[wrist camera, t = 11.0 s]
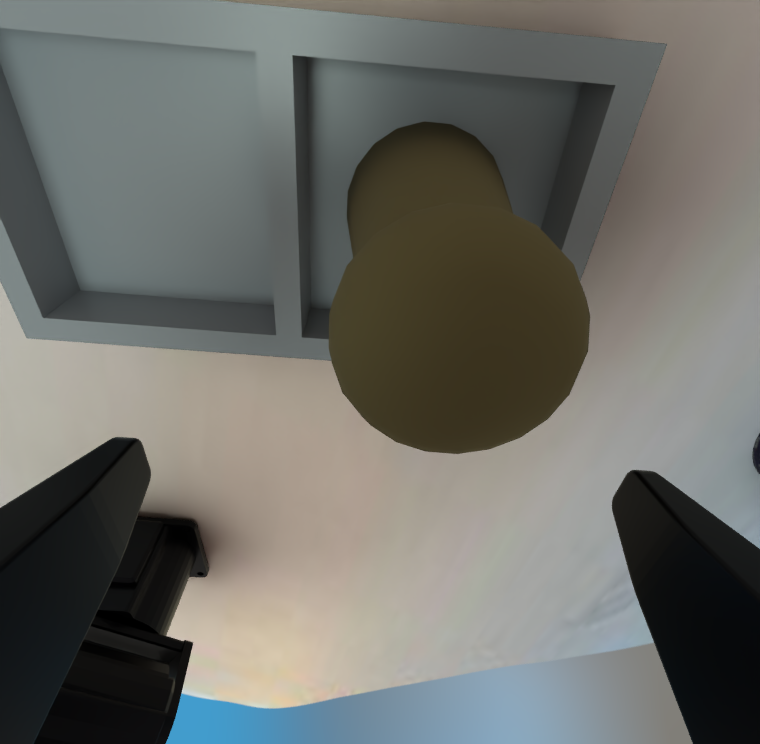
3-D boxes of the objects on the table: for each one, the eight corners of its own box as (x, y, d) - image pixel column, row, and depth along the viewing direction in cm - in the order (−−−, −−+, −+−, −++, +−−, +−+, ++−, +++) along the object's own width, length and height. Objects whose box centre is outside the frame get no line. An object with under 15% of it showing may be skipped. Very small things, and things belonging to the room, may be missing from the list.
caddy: (523, 333, 21) (544, 376, 18) (78, 299, 20) (26, 338, 17) (612, 47, 14) (667, 43, 12) (-35, -15, 14) (-146, -34, 11)
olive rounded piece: (318, 236, 17) (240, 423, 8) (403, 80, 14) (423, 112, 5) (441, 309, 19) (486, 529, 10) (539, 185, 16) (728, 342, 7)
